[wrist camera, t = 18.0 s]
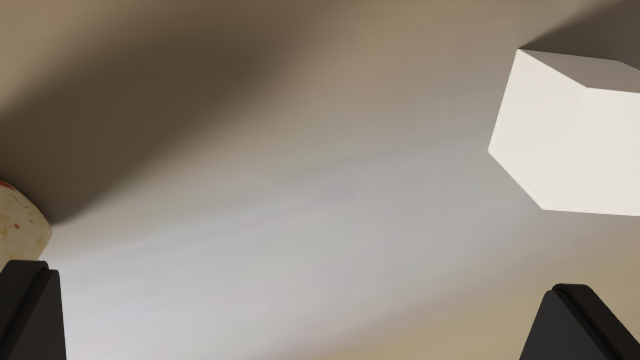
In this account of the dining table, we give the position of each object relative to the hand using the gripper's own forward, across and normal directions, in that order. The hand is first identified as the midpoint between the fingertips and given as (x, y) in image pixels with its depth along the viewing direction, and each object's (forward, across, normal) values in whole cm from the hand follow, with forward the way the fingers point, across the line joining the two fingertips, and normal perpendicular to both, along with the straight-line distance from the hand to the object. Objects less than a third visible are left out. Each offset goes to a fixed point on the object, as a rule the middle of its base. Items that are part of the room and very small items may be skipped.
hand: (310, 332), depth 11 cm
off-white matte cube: (+28, -21, +3) cm, 35 cm away
